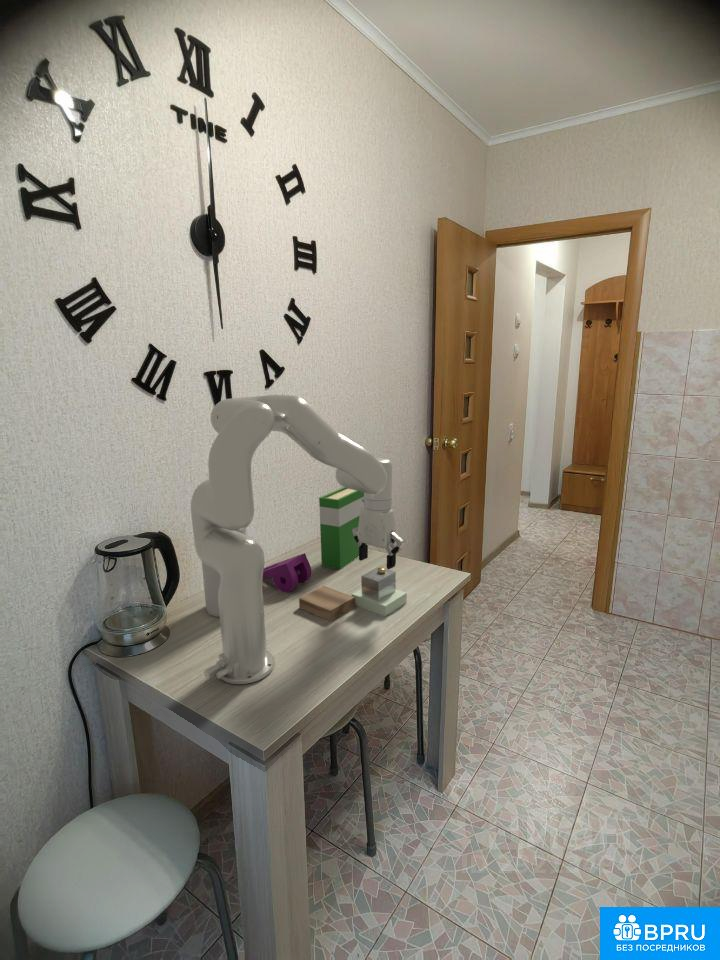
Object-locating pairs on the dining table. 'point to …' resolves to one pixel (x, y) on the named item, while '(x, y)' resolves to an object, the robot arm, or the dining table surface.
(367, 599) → the stand
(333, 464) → the robot arm
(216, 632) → the dining table surface
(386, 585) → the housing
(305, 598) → the stand
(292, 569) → the mounting bracket
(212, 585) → the cylinder vase
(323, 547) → the hardback book
